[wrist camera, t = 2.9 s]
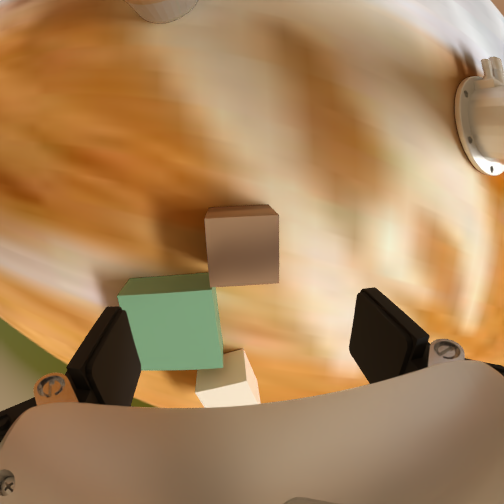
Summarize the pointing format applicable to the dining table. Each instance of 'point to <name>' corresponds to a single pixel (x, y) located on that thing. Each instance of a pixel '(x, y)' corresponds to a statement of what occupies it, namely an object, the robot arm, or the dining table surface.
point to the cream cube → (228, 383)
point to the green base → (174, 321)
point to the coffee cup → (161, 9)
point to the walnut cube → (242, 245)
